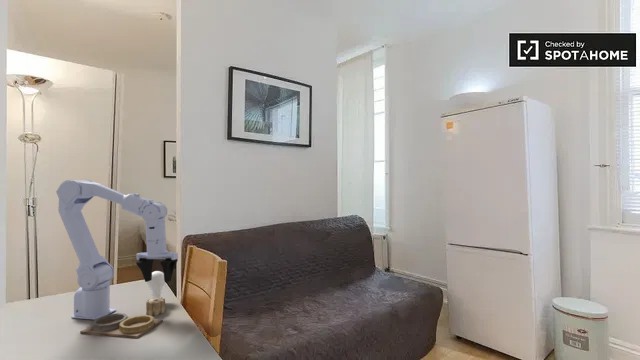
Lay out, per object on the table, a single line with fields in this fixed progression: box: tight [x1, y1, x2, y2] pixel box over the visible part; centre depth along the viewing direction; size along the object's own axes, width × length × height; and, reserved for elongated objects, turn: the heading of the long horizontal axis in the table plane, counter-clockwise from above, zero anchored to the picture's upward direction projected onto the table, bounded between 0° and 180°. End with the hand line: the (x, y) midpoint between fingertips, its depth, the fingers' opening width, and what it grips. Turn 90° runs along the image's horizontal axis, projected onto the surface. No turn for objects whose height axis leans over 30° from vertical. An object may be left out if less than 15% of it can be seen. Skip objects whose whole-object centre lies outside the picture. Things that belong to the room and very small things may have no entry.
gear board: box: [80, 312, 164, 339], centre depth 96 cm, size 18×11×2 cm, turn 80°
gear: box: [145, 297, 166, 317], centre depth 107 cm, size 5×5×4 cm
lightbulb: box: [146, 270, 166, 299], centre depth 116 cm, size 6×6×11 cm
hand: (158, 281), depth 107 cm, fingers open, 7 cm apart
